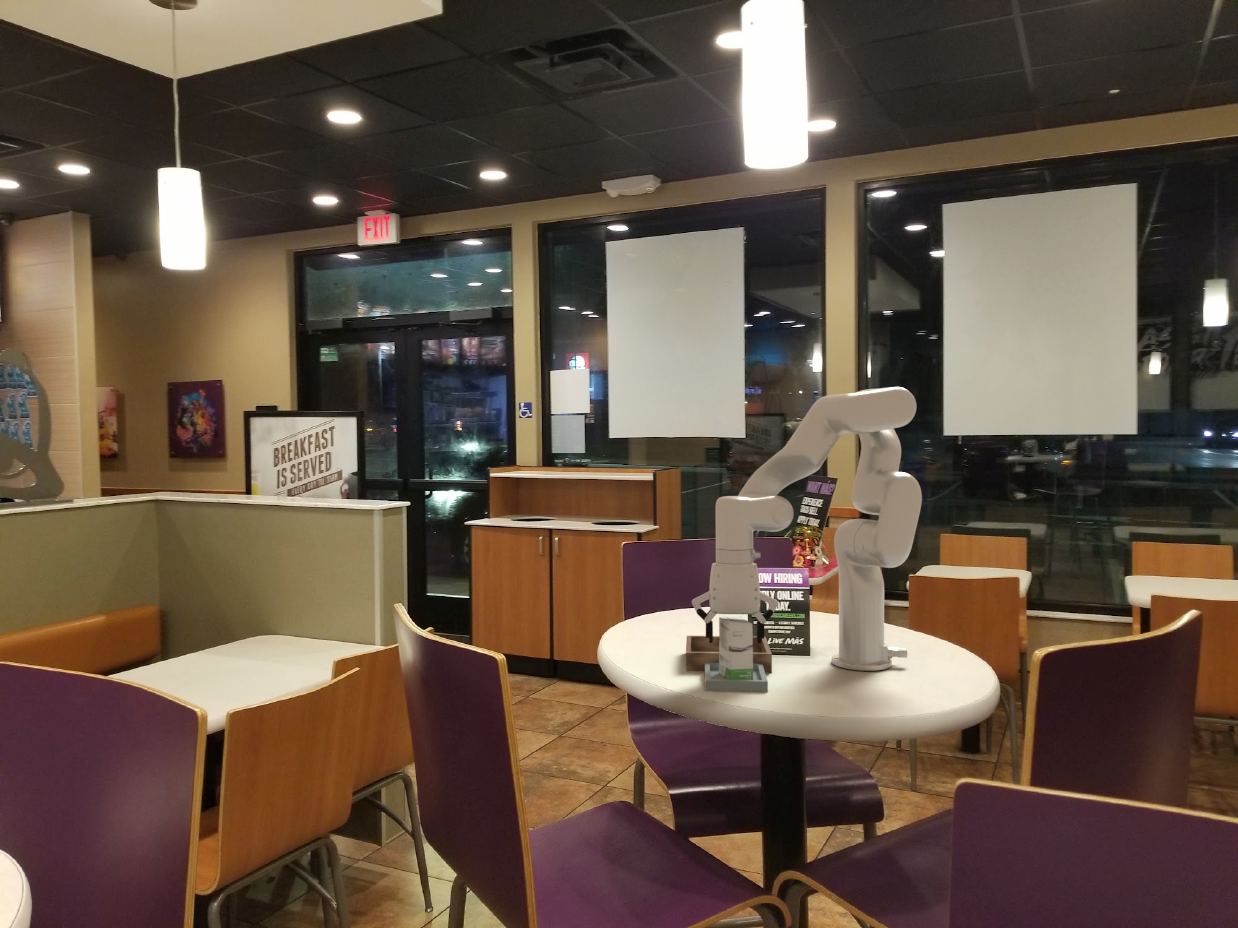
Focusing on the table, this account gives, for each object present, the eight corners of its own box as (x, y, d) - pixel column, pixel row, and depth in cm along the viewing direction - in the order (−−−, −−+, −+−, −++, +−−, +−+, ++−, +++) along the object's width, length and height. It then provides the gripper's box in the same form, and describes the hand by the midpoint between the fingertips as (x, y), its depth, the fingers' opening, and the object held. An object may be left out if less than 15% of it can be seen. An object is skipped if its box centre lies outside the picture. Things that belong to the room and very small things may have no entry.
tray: (762, 673, 183) (762, 663, 183) (767, 691, 169) (767, 681, 169) (704, 672, 184) (704, 662, 184) (705, 690, 170) (705, 680, 170)
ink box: (754, 682, 173) (754, 623, 173) (730, 683, 172) (729, 624, 172) (741, 671, 182) (741, 614, 181) (718, 672, 181) (717, 615, 181)
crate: (765, 653, 201) (765, 636, 200) (771, 672, 184) (771, 653, 184) (686, 652, 202) (686, 635, 202) (685, 671, 185) (685, 652, 185)
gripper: (776, 555, 179) (776, 638, 180) (691, 554, 181) (692, 637, 181) (779, 559, 172) (779, 646, 172) (691, 559, 173) (691, 645, 174)
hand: (734, 641), depth 177 cm, fingers open, 9 cm apart
